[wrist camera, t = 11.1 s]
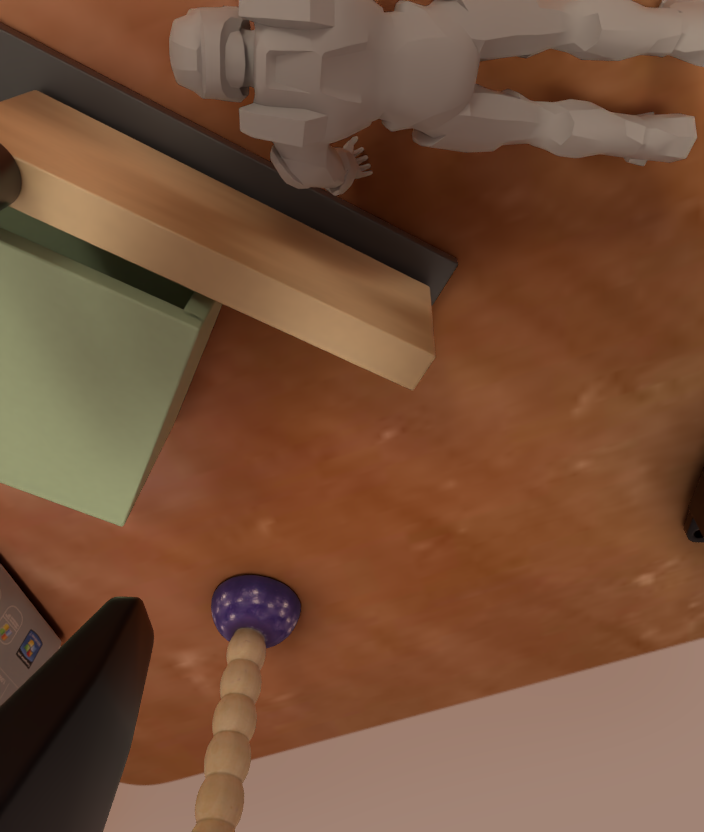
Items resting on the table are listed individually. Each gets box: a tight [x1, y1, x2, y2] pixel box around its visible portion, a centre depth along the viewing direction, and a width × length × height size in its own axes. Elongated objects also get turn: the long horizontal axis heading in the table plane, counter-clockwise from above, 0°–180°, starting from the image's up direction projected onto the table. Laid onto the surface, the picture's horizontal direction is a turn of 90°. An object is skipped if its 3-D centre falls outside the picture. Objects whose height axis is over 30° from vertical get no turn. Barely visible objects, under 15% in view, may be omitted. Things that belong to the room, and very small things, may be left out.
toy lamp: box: [192, 575, 301, 832], centre depth 23 cm, size 5×5×17 cm
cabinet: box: [0, 23, 458, 526], centre depth 18 cm, size 20×10×6 cm, turn 64°
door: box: [0, 90, 436, 390], centre depth 14 cm, size 12×2×10 cm, turn 64°
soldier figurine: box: [169, 0, 704, 196], centre depth 14 cm, size 6×5×12 cm
